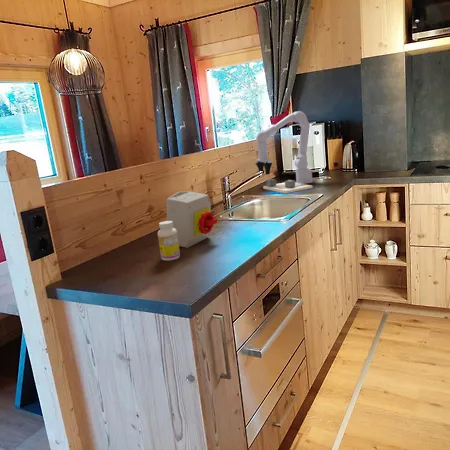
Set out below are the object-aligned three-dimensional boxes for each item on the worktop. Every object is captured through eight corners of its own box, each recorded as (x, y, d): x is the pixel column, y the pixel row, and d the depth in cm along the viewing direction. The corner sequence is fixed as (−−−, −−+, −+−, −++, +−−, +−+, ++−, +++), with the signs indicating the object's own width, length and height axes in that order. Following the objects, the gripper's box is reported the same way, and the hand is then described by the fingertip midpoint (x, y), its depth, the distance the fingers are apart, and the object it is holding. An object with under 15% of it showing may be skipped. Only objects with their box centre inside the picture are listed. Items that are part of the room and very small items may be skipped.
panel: (287, 184, 275) (287, 181, 274) (312, 188, 252) (312, 185, 251) (263, 188, 268) (263, 186, 267) (286, 193, 245) (286, 190, 244)
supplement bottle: (161, 256, 153) (156, 221, 150) (180, 254, 153) (175, 219, 150) (160, 262, 146) (155, 225, 143) (180, 259, 147) (175, 223, 144)
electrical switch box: (199, 255, 157) (199, 202, 151) (167, 246, 164) (166, 195, 158) (220, 243, 169) (221, 193, 163) (190, 235, 176) (189, 188, 170)
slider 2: (290, 186, 256) (290, 179, 255) (295, 186, 252) (294, 180, 251) (285, 187, 254) (284, 180, 253) (289, 187, 250) (288, 181, 249)
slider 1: (272, 184, 267) (272, 178, 266) (276, 185, 263) (275, 179, 262) (266, 185, 265) (266, 179, 264) (270, 186, 262) (269, 180, 261)
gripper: (251, 152, 271) (253, 174, 274) (263, 153, 258) (265, 175, 262) (261, 151, 274) (263, 172, 277) (273, 151, 261) (274, 174, 264)
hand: (264, 173), depth 270 cm, fingers open, 7 cm apart
